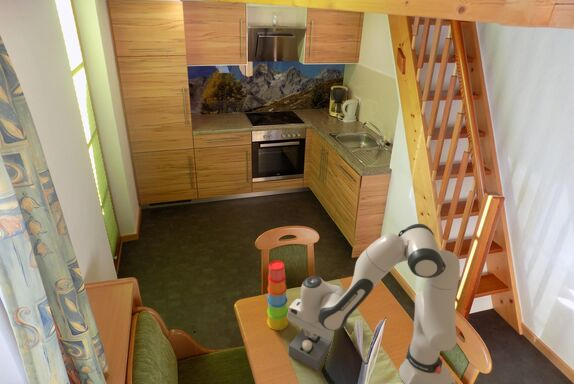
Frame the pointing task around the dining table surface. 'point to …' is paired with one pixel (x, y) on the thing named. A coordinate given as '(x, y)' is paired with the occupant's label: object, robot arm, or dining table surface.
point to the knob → (307, 346)
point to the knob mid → (314, 337)
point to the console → (316, 352)
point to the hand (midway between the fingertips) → (309, 335)
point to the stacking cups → (277, 296)
